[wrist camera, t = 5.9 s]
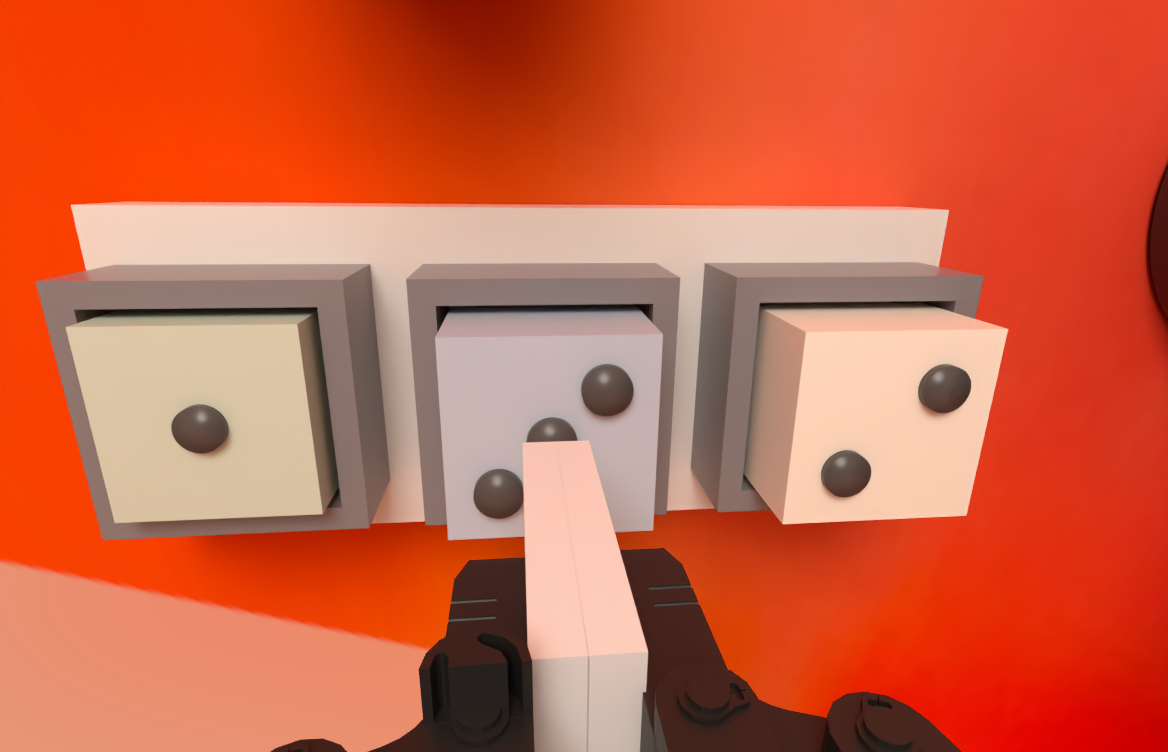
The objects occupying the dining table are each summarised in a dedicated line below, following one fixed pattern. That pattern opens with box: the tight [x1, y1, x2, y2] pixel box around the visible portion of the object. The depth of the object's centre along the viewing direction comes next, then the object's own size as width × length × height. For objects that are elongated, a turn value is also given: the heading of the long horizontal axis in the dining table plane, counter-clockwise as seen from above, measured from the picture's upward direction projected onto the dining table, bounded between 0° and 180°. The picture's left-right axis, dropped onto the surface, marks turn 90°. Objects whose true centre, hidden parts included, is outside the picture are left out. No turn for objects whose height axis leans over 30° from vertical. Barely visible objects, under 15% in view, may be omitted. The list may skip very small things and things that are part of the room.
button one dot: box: [66, 307, 339, 523], centre depth 20 cm, size 6×6×4 cm
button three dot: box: [435, 305, 663, 540], centre depth 19 cm, size 6×6×4 cm
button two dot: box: [743, 302, 1008, 524], centre depth 20 cm, size 6×6×4 cm
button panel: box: [36, 202, 984, 540], centre depth 23 cm, size 30×12×6 cm, turn 90°
